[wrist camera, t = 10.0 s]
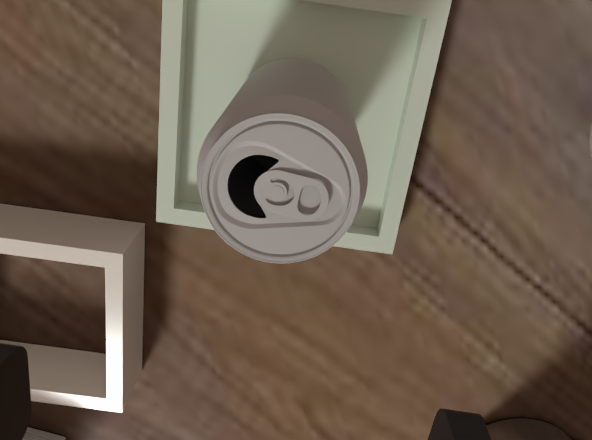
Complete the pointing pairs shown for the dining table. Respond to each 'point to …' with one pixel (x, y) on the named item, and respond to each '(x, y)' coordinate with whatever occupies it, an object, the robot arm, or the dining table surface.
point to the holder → (118, 298)
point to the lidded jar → (590, 137)
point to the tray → (315, 48)
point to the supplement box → (41, 435)
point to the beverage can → (284, 164)
